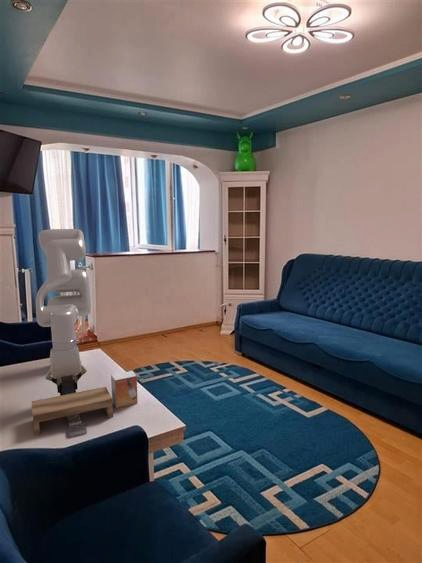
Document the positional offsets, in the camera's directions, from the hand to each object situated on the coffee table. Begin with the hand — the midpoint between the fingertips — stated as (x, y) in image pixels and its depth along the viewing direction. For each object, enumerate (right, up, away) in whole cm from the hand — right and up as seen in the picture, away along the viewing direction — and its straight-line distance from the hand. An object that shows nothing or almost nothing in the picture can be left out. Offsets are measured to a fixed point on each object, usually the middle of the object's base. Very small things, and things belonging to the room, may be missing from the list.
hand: (67, 392), depth 142 cm
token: (+10, -7, -19) cm, 23 cm away
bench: (+6, -5, -12) cm, 14 cm away
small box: (+21, -4, -1) cm, 21 cm away
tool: (+4, -4, -7) cm, 9 cm away
